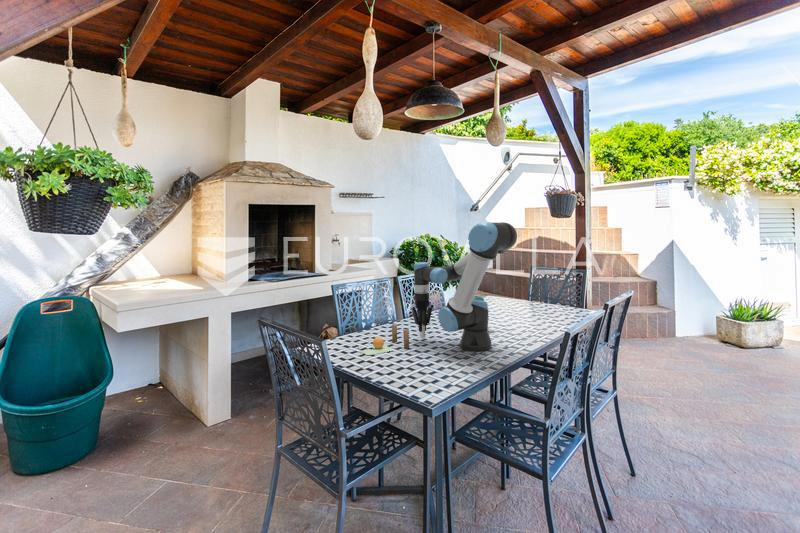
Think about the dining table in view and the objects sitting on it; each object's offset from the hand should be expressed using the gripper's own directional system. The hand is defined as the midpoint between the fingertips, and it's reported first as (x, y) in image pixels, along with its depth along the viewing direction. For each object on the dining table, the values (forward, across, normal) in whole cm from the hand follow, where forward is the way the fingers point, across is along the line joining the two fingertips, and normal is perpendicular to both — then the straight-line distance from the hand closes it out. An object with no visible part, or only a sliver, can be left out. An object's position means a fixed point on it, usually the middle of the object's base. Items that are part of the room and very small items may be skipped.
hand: (422, 337), depth 198 cm
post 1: (+2, +13, -6) cm, 15 cm away
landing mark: (+2, +27, 0) cm, 27 cm away
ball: (-1, +25, 0) cm, 25 cm away
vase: (+2, -37, 0) cm, 37 cm away
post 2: (+2, +13, +6) cm, 15 cm away
